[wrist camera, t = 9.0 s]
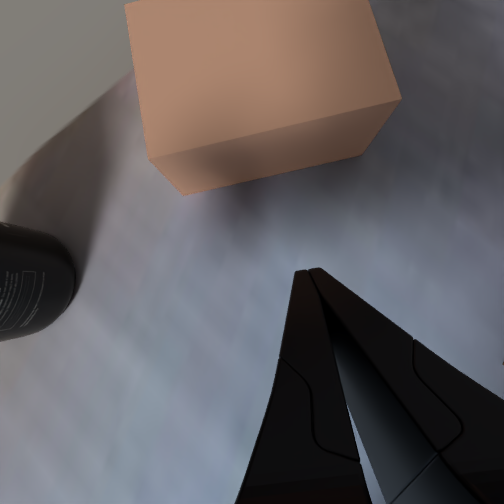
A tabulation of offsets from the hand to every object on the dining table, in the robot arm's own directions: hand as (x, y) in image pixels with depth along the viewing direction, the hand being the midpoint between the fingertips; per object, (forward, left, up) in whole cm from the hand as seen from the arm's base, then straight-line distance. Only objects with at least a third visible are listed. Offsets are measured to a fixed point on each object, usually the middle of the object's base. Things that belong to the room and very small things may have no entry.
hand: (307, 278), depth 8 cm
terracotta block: (+5, -4, -5) cm, 8 cm away
